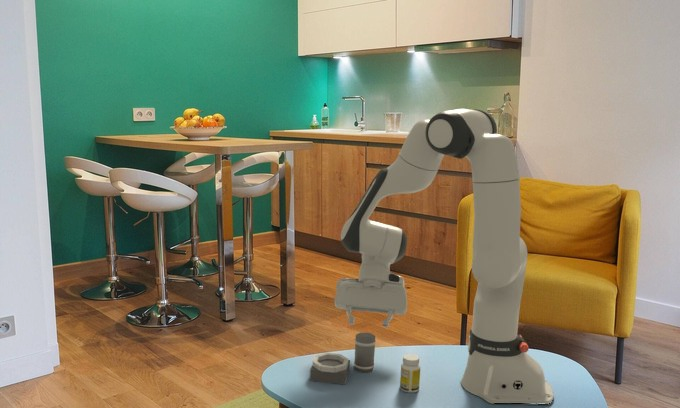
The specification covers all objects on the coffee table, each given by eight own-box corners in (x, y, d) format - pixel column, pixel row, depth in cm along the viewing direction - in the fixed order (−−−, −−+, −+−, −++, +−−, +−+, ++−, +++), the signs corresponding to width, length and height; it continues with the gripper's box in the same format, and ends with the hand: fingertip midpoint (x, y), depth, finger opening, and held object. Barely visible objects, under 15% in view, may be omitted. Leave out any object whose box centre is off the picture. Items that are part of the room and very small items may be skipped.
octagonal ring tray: (349, 370, 166) (350, 355, 165) (344, 385, 157) (345, 369, 157) (316, 366, 167) (316, 351, 167) (309, 381, 159) (310, 365, 158)
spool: (375, 365, 170) (376, 333, 168) (372, 373, 164) (374, 341, 163) (355, 363, 170) (356, 331, 169) (352, 371, 165) (354, 339, 164)
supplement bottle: (418, 385, 159) (420, 353, 158) (419, 394, 154) (421, 361, 153) (399, 383, 159) (401, 352, 158) (399, 392, 155) (401, 360, 153)
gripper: (336, 271, 178) (329, 316, 170) (409, 278, 175) (405, 323, 167) (338, 282, 183) (331, 326, 176) (409, 288, 180) (404, 333, 173)
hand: (368, 325), depth 171 cm, fingers open, 8 cm apart
